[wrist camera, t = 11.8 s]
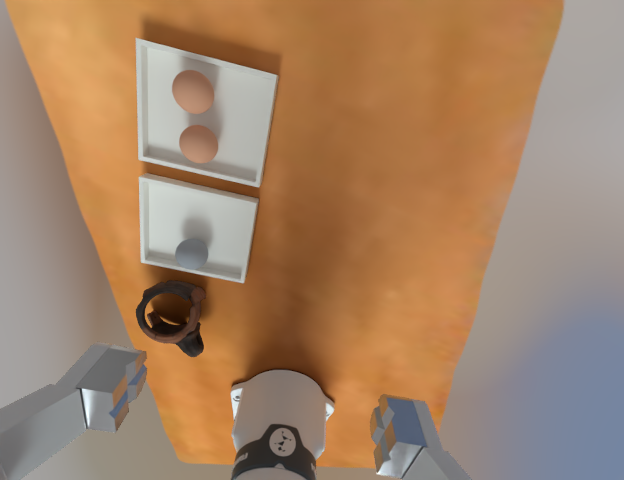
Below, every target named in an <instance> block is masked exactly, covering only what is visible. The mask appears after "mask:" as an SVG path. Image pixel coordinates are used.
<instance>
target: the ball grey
mask: <svg viewBox="0 0 624 480" xmlns="http://www.w3.org/2000/svg"><path fill="white" fill-rule="evenodd" d="M208 255H209V253H208V248H207V246H206V245H205V244H204V243H203V242H202V241H200V240H198V239H187V240H184V241H182V242H181V243H180V244H179V245H178V246H177V248H176V251H175V257H176V260H177V262H178V264H179V265H180V266H182V267H183V268H186V269H190V270H193V269H198V268H200V267H202V266H203V265H204V264H205V263H206V261H207V259H208Z"/></svg>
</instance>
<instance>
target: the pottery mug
mask: <svg viewBox="0 0 624 480" xmlns="http://www.w3.org/2000/svg"><path fill="white" fill-rule="evenodd" d="M162 293H174V294H177V295H179V296H181V297H182V298H184V299H185V300H186V301H187V300H188V298H189V299H190V301H191V302H192V307H191V308H190V318H189V321H188V323H187V324H183V325H172V324H168V323H166V322H164V321H163V320H162V319H161V318H160V317H159V315H158V314H157V312H156V311H155V310H154V311H152V312H151V313H149V314H147V317H148V319H149V321H150V323H151V325H152V328H150V327H149V325H148V324H147V322H146V320H145V308H146V305H147V303H148V302H149V301H150V300H151V299H152V298H153V297H155V296H156V295H159V294H162ZM205 298H206V294H205V292H204V291H203V289H202V288H201V287H196V286H195V285H193V284H190V283H186V282H182V281H171V280H169V281H167V283H164V282H161V283H159V284H157V285H155V286H153V287H151V288H149V289H146V290H145V291H144V293H143V299H142V301H141V303H140V304H139V305H138V307H137V309H136V317H137V320H138V324H139V326H140V328H141V329H142V331H143V332H144V333H145V334H146V335H147V336H148V337H150V338H151V339H153V340H155V341H158V342H161V343H173V344H176V345H178V346H179V347H180V348H181V350H182V351H183V352H184V353H186V354H187V355H189V356H190V357H196V356H197V355H199V354H200V353H202V352H203V349H204V345H203V341H202V338H201V335H200V332H199V330H200V325H201V324H200V322H198V321H199V317H200V312H201V304H200V301H201V300H202V299H205Z"/></svg>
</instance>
